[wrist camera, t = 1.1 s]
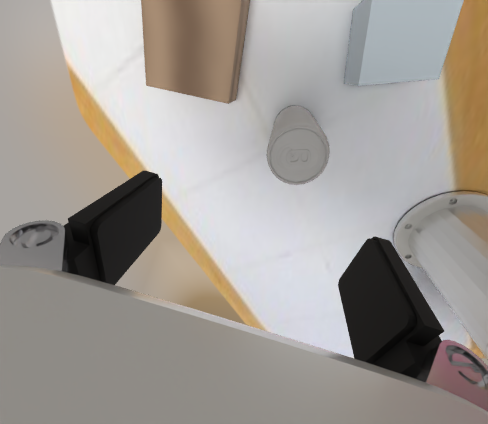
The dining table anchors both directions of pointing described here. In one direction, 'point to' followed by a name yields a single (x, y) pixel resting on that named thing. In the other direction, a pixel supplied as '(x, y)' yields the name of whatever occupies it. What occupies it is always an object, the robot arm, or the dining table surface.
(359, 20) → the grey-blue block
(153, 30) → the walnut block
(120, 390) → the robot arm
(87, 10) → the dining table surface
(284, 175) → the beverage can
